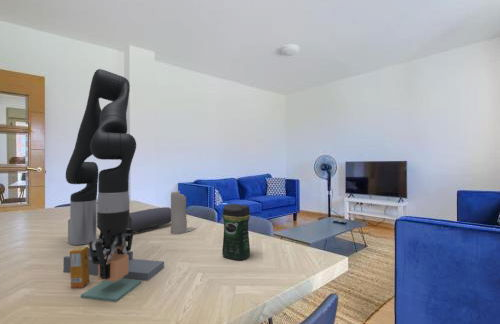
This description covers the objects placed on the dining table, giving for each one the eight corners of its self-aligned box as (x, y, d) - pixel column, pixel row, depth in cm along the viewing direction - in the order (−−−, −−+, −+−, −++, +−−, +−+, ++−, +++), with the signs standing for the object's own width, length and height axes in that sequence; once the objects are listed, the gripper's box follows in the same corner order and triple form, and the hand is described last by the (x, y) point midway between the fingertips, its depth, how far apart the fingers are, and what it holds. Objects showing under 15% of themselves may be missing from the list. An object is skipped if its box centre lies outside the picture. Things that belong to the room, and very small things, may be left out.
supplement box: (76, 282, 71) (76, 246, 71) (89, 282, 71) (89, 246, 71) (68, 288, 68) (69, 250, 68) (82, 288, 68) (83, 250, 68)
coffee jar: (253, 255, 93) (253, 204, 93) (242, 262, 86) (242, 207, 87) (230, 250, 98) (231, 201, 98) (218, 257, 91) (219, 204, 91)
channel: (63, 272, 78) (63, 257, 78) (87, 260, 87) (87, 247, 87) (147, 280, 73) (147, 264, 73) (164, 267, 82) (164, 253, 82)
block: (98, 279, 65) (98, 260, 65) (112, 271, 70) (112, 253, 70) (115, 281, 65) (115, 261, 65) (128, 273, 69) (128, 254, 69)
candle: (199, 228, 130) (199, 189, 130) (177, 235, 118) (178, 191, 118) (188, 226, 134) (189, 188, 134) (167, 232, 122) (167, 190, 122)
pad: (80, 297, 63) (80, 295, 63) (109, 279, 73) (109, 277, 73) (116, 301, 62) (116, 299, 62) (141, 282, 72) (141, 280, 72)
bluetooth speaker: (162, 223, 140) (163, 205, 140) (173, 226, 135) (173, 207, 135) (121, 232, 122) (121, 211, 122) (132, 236, 116) (132, 214, 116)
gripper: (106, 215, 60) (105, 288, 60) (142, 205, 74) (142, 264, 74) (78, 213, 61) (77, 285, 61) (119, 204, 75) (119, 262, 75)
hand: (113, 273), depth 68 cm, fingers closed on block, 5 cm apart
